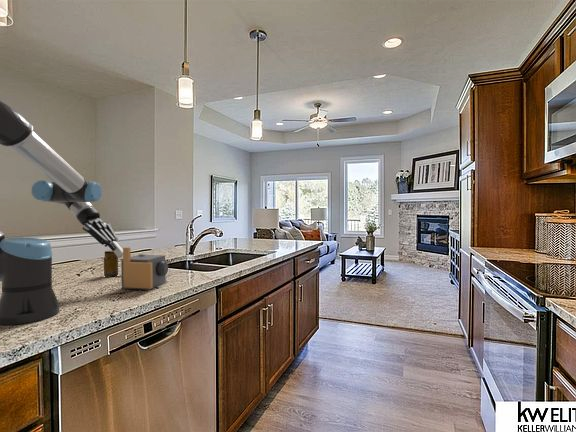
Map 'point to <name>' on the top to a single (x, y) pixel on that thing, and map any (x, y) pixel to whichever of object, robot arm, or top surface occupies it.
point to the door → (136, 272)
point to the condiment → (110, 264)
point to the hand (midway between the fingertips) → (122, 255)
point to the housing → (158, 268)
